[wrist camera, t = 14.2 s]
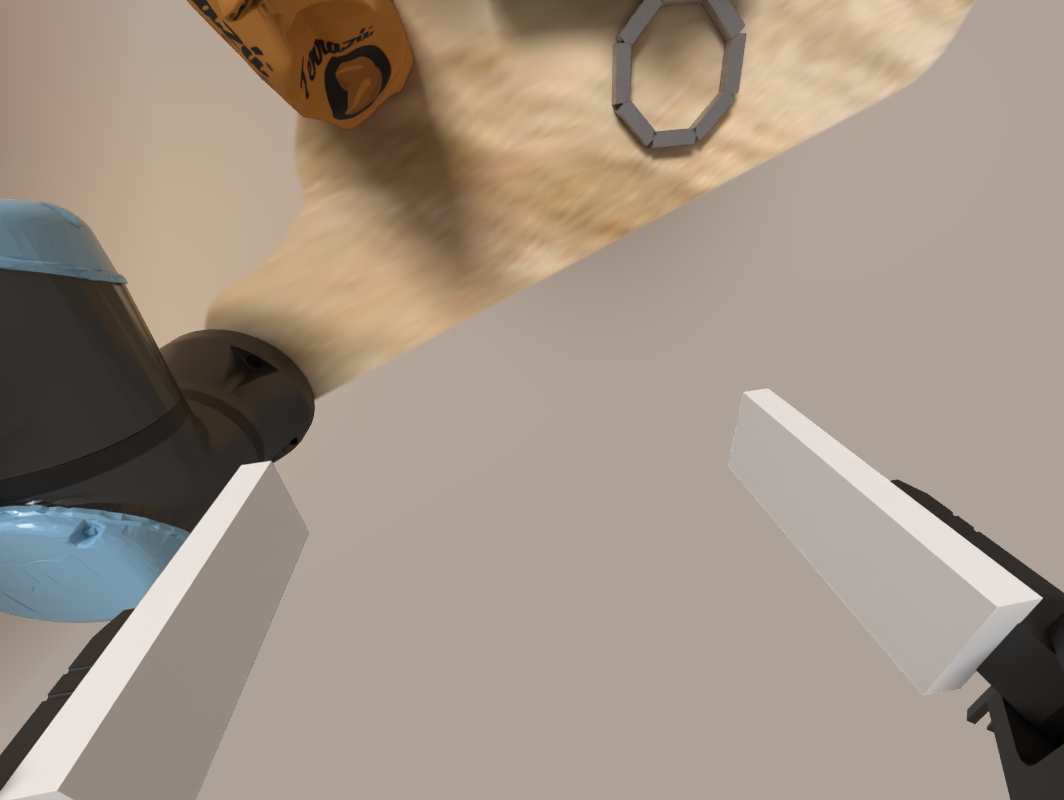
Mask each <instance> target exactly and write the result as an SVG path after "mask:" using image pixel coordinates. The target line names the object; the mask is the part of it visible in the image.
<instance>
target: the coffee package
mask: <svg viewBox="0 0 1064 800" xmlns="http://www.w3.org/2000/svg"><path fill="white" fill-rule="evenodd" d="M187 1H188V2H189V3H190V4H191V6H192V7H193V8H194V9H195V10H196V11H197V12H198V13H199V14H200V15H201V16H202V17H203V18H204V19H205V20H206V21H207V22H208V24H210V25H211V26H212V28H213V29H214V30H215V31H216V32H217V33H218V34H219V35H220V36H221V37H222V38H223V39H224V40H225V41H226V42H227V43H228V44H229V45H230V46H231V47H232V48H233V49H234V50H235V51H236V52H237V53H238V54H239V55H240V56H241V57H242V58H243V59H244V60H245V61H246V62H247V63H248V65H249V66H250V67H251V68H252V69H253V70H254V71H255V72H256V73H257V74H258V75H259V76H260V77H261V79H262V80H264V81H265V82H266V83H267V84H268V85H269V86H270V87H271V88H273V89H274V90H275V91H276V92H277V93H278V94H279V95H280V96H282V98H283V99H284V100H285V101H286V102H287V103H288V104H290V105H291V106H292V107H293V108H294V109H295V110H296V111H297V112H299V113H300V114H301V115H302V116H303V117H306V118H312V119H318V120H324V121H327V122H330V123H332V124H334V125H336V126H339V127H341V128H343V129H352V128H354V127H356V126H357V125H359V124H360V123H361V122H362V121H364V120H365V119H367V118H368V117H369V116H370V115H371V114H372V113H373V112H374V111H375V110H376V109H377V108H378V107H379V105H380V104H381V103H382V102H384V101H385V100H386V99H387V98H388V97H390V96H391V95H393V94H396V93H399V92H400V91H401V90H402V88H403V86H404V84H405V82H406V80H407V77H408V75H409V72H410V70H411V67H412V65H413V62H414V57H413V53H412V50H411V47H410V44H409V42H408V39H407V36H406V32H405V30H404V27H403V24H402V22H401V20H400V18H399V15H398V13H397V10H396V7H395V5H394V2H393V0H187Z"/></svg>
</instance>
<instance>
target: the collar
mask: <svg viewBox="0 0 1064 800" xmlns="http://www.w3.org/2000/svg"><path fill="white" fill-rule="evenodd" d="M691 3H701V4H702V5H703V7H704V8H705V10H706V12H707V13H708V15H709V16H710V18H711V19H712V21H713V22H714V24H715V25H716V27H717V29H718V30H719V32H720V33H721V35H722V36H723V38H724V39H725V48H724V56H723V64H722V72H721V81H720V89H719V93H718V94H717V96H716V97H715V98H714V99H713V100H712V102H711V103H710V104H709V105H708V106H707V108H706V109H705V110H704V111H703V112H702V114H701V115H700V116H699V117H698V118H697V120H696V121H695V122H694V123H693V124H692V126H691V127H690V128H689V129H679V130H668V131H658V132H656V131H655V130H654V129H653V128H652V126H651V125H650V124H649V123H648V121H647V120H646V119H645V118H644V116H643V115H642V114H641V113H640V112H639V110H638V109H637V108H636V107H635V105H634V104H633V103H632V102H631V100H630V73H631V45H632V44H633V43H634V41H635V40H636V39H637V37H638V36H639V35H640V33H641V32H642V31H643V29H644V28H645V26H646V25H647V24H648V22H649V21H650V20H651V18H652V17H653V16H654V14H655V13H656V12H657V10H658V9H659V7H660V6H663V5H677V4H691ZM744 26H745V24H744V22H743V21H742V19H741V18H740V16H739V14H738V13H737V11H736V9H735V8H734V6H733V5H732V3H731V1H730V0H643V1H642V2H641V3H640V5H639V6H638V8H637V9H636V10H635V12H634V13H633V15H632V16H631V17H630V19H629V20H628V22H627V23H626V24H625V26H624V27H623V28H622V30H621V31H620V33H619V34H618V35H617V37H616V40H617V41H618V42H619V43H617V44H615V45H614V46H613V76H612V105H619V104H620V105H619V106H618V108H617V109H616V110H615V111H614V112H615V113H616V114H617V116H618V117H619V118H620V119H621V120H622V122H623V123H624V124H625V125H626V126H627V127H628V129H629V130H630V131H631V132H632V133H633V135H634V136H635V137H636V138H637V139H638V140H639V142H640V143H641V144H642V145H643V146H648V144H649V146H648V148H657V147H668V146H678V145H688V144H695V141H700V140H701V139H702V138H703V137H704V136H705V135H706V133H707V132H708V131H709V130H710V129H711V127H712V126H713V125H714V124H715V123H716V122H717V120H718V119H719V118H720V117H721V116H722V115H723V113H724V112H725V111H726V110H727V109H728V108H729V106H730V105H731V104H732V103H733V102H734V101H735V100H734V98H733V97H732V95H731V94H736V93H738V90H739V83H740V76H741V69H742V62H743V55H744V48H745V41H746V34H747V33H743V34H739V33H740V31H741V30H742V29H743V28H744Z"/></svg>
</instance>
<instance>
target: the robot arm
mask: <svg viewBox="0 0 1064 800" xmlns="http://www.w3.org/2000/svg"><path fill="white" fill-rule="evenodd" d="M125 284H128V282H127V280H126V279H125V278H124V277H123V276H122V275H120V274H118V272H117V271H116V269H115V268H114V266H113V265H112V263H111V261H110V260H109V258H108V256H107V255H106V253H105V251H104V250H103V248H102V246H101V245H100V243H99V241H98V240H97V238H96V236H95V235H94V233H93V231H92V230H91V229H90V227H89V226H88V225H87V224H86V223H85V222H84V221H83V220H82V219H80V218H79V217H78V216H76V215H75V214H73V213H72V212H70V211H68V210H66V209H64V208H62V207H60V206H57V205H54V204H50V203H47V202H42V201H34V200H20V199H0V612H4V613H7V614H11V615H15V616H20V617H25V618H33V619H39V620H45V621H54V622H70V623H71V622H72V623H74V622H75V623H89V622H104V621H111V622H110V623H108V624H107V625H106V626H105V627H104V628H103V629H102V630H100V631H99V632H98V633H97V634H96V635H95V636H94V637H93V638H92V639H91V640H90V641H89V643H88V644H87V645H86V647H85V648H84V649H83V650H82V652H81V653H80V654H79V656H78V657H77V658H76V659H75V661H74V662H73V663H72V664H71V666H70V667H69V668H68V669H69V672H68V673H67V674H65V675H63V676H62V677H61V678H60V680H59V681H58V682H57V684H56V685H55V686H54V687H53V689H52V690H51V691H50V693H49V694H48V699H47V700H46V701H43V702H42V703H41V704H40V705H39V707H38V708H37V709H36V710H35V712H34V713H33V714H32V715H31V717H30V718H29V719H28V720H27V722H26V723H25V724H24V726H23V727H22V728H21V729H20V731H19V732H18V733H17V735H16V736H15V737H14V738H13V740H12V741H11V742H10V744H9V745H8V746H7V747H6V749H5V750H4V751H3V752H2V754H1V755H0V800H196V798H197V796H198V793H199V791H200V789H201V786H202V784H203V782H204V779H205V777H206V774H207V772H208V770H209V767H210V765H211V763H212V760H213V758H214V756H215V753H216V751H217V749H218V746H219V744H220V741H221V739H222V737H223V734H224V732H225V730H226V727H227V725H228V723H229V720H230V718H231V716H232V713H233V711H234V708H235V706H236V704H237V701H238V699H239V697H240V694H241V692H242V690H243V687H244V685H245V682H246V680H247V678H248V675H249V673H250V671H251V668H252V666H253V664H254V661H255V659H256V656H257V654H258V652H259V649H260V647H261V645H262V642H263V640H264V638H265V635H266V633H267V630H268V628H269V626H270V623H271V621H272V619H273V616H274V614H275V612H276V609H277V607H278V604H279V602H280V600H281V598H282V595H283V593H284V591H285V588H286V585H287V583H288V581H289V579H290V576H291V574H292V572H293V569H294V567H295V564H296V562H297V560H298V557H299V555H300V553H301V550H302V548H303V546H304V543H305V541H306V538H307V536H308V534H309V532H308V530H307V528H306V526H305V524H304V522H303V520H302V518H301V516H300V515H299V513H298V511H297V509H296V507H295V505H294V503H293V501H292V499H291V497H290V495H289V493H288V492H287V490H286V488H285V486H284V484H283V482H282V480H281V478H280V476H279V475H278V472H277V471H276V469H275V467H274V465H273V463H274V462H276V461H277V460H279V459H280V458H282V457H284V456H285V455H287V454H288V453H289V452H291V451H292V450H293V449H294V448H295V447H296V446H297V445H298V444H299V443H300V442H301V440H302V439H303V437H304V436H305V434H306V432H307V431H308V429H309V427H310V425H311V423H312V420H313V416H314V410H315V405H314V397H313V393H312V390H311V387H310V385H309V383H308V381H307V379H306V378H305V376H304V375H303V373H302V372H301V371H300V369H299V368H298V367H297V366H296V365H295V364H294V363H293V362H292V361H291V360H290V359H289V358H288V357H287V356H286V355H284V354H283V353H282V352H280V351H279V350H278V349H276V348H274V347H273V346H271V345H269V344H268V343H266V342H264V341H261V340H259V339H257V338H254V337H252V336H249V335H246V334H242V333H238V332H233V331H227V330H201V331H195V332H191V333H188V334H185V335H182V336H180V337H178V338H176V339H175V340H173V341H171V342H170V343H168V344H167V345H165V346H164V347H162V348H160V349H159V348H158V347H157V344H156V342H155V340H154V339H153V337H152V335H151V333H150V331H149V329H148V327H147V326H146V323H145V321H144V319H143V318H142V316H141V314H140V312H139V310H138V308H137V306H136V304H135V302H134V301H133V299H132V297H131V295H130V293H129V291H128V289H127V287H126V285H125ZM728 467H729V468H730V470H731V471H732V472H733V473H734V474H735V476H736V477H737V478H738V479H739V480H740V481H741V483H742V484H743V485H744V486H745V487H746V489H747V490H748V491H749V492H750V493H751V494H752V496H753V497H754V498H755V499H756V500H757V501H758V502H759V504H760V505H761V506H762V507H763V508H764V510H765V511H766V512H767V513H768V514H769V516H771V518H772V519H773V520H774V522H775V523H776V524H777V525H778V526H779V527H780V529H781V530H782V531H783V532H784V533H785V534H786V536H787V537H788V538H789V539H790V540H791V542H792V543H793V544H794V545H795V546H796V547H797V549H798V550H799V551H800V552H801V553H802V554H803V556H804V557H805V558H806V559H807V560H808V562H809V563H810V564H811V565H812V566H813V568H814V569H815V570H816V571H817V572H818V573H819V575H820V576H821V577H822V578H823V579H824V581H825V582H826V583H827V584H828V585H829V586H830V588H831V589H832V590H833V591H834V592H835V593H836V595H837V596H838V597H839V598H840V599H841V601H842V602H843V603H844V604H845V605H846V606H847V607H848V609H849V610H850V611H851V612H852V614H853V615H854V616H855V617H856V618H857V619H858V621H859V622H860V623H861V624H862V625H863V627H864V628H865V629H866V630H867V631H868V632H869V634H870V635H871V636H872V637H873V638H874V640H875V641H876V642H877V643H878V644H879V645H880V647H881V648H882V649H883V650H884V651H885V652H886V654H887V655H888V656H889V657H890V658H891V660H893V662H894V663H895V664H896V665H897V667H898V668H899V669H900V670H901V671H902V673H903V674H904V675H905V676H906V677H907V678H908V680H909V681H910V682H911V683H912V684H913V686H914V687H915V688H916V689H917V690H918V691H919V693H920V694H921V695H922V696H926V695H931V694H936V693H940V692H945V691H950V690H955V689H959V688H961V687H962V686H963V685H964V684H965V683H966V682H967V681H968V679H969V678H970V677H971V676H972V675H973V674H974V673H975V672H976V671H978V672H979V673H980V674H981V675H982V676H983V677H984V678H985V679H986V680H987V681H988V682H989V683H990V684H991V686H990V687H989V688H988V689H987V690H986V691H985V692H984V693H983V694H982V695H981V696H980V697H979V698H978V699H977V700H976V701H975V702H974V704H973V705H971V706H970V708H968V710H967V721H969V722H972V723H974V724H976V723H977V722H978V721H979V720H980V719H981V718H982V717H983V716H984V715H985V714H986V713H987V712H988V711H989V713H990V717H991V722H990V724H989V725H988V726H987V730H989V731H992V732H994V734H995V738H996V742H997V746H998V750H999V754H1000V758H1001V763H1002V767H1003V771H1004V775H1005V779H1006V783H1007V787H1008V791H1009V795H1010V800H1064V593H1063V592H1062V591H1060V590H1059V589H1058V588H1056V587H1055V586H1054V585H1052V584H1051V583H1049V582H1048V581H1047V580H1045V579H1044V578H1043V577H1041V576H1040V575H1038V574H1037V573H1036V572H1034V571H1033V570H1031V569H1030V568H1029V567H1027V566H1026V565H1025V564H1023V563H1022V562H1021V561H1019V560H1018V559H1016V558H1015V557H1014V556H1012V555H1011V554H1010V553H1008V552H1007V551H1005V550H1004V549H1003V548H1001V547H1000V546H999V545H997V544H996V543H994V542H993V541H991V540H990V539H989V538H987V537H986V536H985V535H983V534H982V533H981V532H976V531H975V530H974V527H972V526H971V525H970V524H968V523H967V522H966V521H964V520H963V519H961V518H960V517H959V516H954V515H953V512H952V511H950V510H949V509H948V508H946V507H945V506H943V505H942V504H941V503H939V502H938V501H937V500H935V499H934V498H932V497H931V496H930V495H928V494H927V493H925V492H923V491H921V490H918V489H916V488H914V487H912V486H910V485H908V484H906V483H904V482H902V481H900V480H892V481H889V480H887V479H886V478H885V477H883V476H882V475H881V474H879V473H878V472H877V471H876V470H874V469H873V468H872V467H870V466H869V465H868V464H866V463H865V462H864V461H863V460H861V459H860V458H859V457H857V456H856V455H854V454H853V453H852V452H851V451H849V450H848V449H847V448H845V447H844V446H843V445H842V444H840V443H839V442H838V441H836V440H835V439H834V438H832V437H831V436H829V435H828V434H827V433H826V432H825V431H823V430H822V429H820V428H819V427H818V426H817V425H815V424H814V423H813V422H811V421H810V420H808V419H807V418H806V417H805V416H804V415H802V414H801V413H800V412H798V411H797V410H796V409H794V408H793V407H792V406H790V405H789V404H788V403H786V402H785V401H784V400H783V399H781V398H780V397H779V396H777V395H776V394H775V393H773V392H772V391H771V390H769V389H762V390H755V391H748V392H743V395H742V400H741V404H740V409H739V414H738V419H737V423H736V429H735V433H734V439H733V443H732V447H731V452H730V457H729V462H728Z"/></svg>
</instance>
